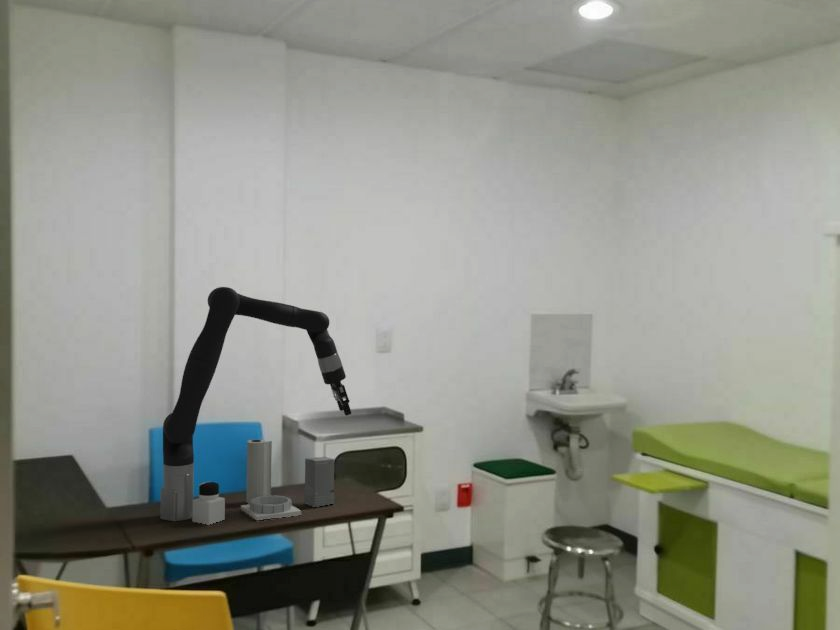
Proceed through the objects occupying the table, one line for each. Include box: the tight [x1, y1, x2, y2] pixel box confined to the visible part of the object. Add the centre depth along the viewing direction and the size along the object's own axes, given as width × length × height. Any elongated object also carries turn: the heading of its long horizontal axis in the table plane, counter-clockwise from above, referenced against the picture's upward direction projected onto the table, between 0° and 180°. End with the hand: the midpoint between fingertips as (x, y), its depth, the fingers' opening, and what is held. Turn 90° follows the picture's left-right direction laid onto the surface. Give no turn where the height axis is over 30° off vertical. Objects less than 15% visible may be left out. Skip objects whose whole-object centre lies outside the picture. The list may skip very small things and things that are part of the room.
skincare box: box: [304, 456, 335, 508], centre depth 281 cm, size 8×7×16 cm
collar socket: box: [240, 495, 302, 521], centre depth 270 cm, size 15×15×4 cm
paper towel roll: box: [246, 439, 273, 505], centre depth 281 cm, size 7×6×21 cm
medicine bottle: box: [191, 481, 226, 526], centre depth 259 cm, size 7×7×12 cm
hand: (345, 412), depth 282 cm, fingers open, 8 cm apart
